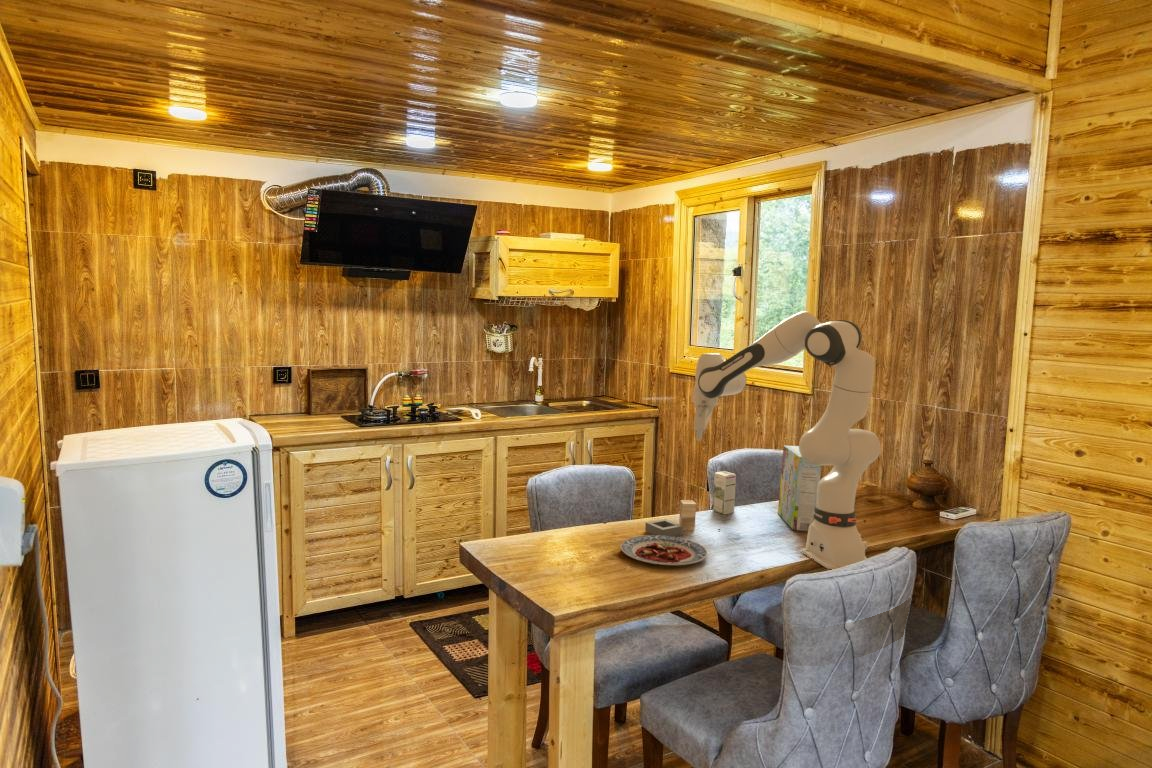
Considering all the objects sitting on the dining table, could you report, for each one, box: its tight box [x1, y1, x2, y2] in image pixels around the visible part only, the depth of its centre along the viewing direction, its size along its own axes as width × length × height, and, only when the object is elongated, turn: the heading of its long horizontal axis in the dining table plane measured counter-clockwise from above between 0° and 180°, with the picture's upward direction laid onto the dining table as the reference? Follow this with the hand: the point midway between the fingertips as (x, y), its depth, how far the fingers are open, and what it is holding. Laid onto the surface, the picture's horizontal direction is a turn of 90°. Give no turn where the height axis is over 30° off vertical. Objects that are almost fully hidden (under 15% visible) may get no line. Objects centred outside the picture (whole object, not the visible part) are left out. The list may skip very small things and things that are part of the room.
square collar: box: [644, 518, 684, 537], centre depth 243 cm, size 9×9×3 cm
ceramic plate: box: [620, 534, 709, 566], centre depth 222 cm, size 26×26×3 cm
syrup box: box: [712, 470, 737, 515], centre depth 270 cm, size 6×6×14 cm
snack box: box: [777, 444, 823, 532], centre depth 259 cm, size 22×9×26 cm, turn 179°
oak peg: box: [678, 499, 697, 531], centre depth 249 cm, size 4×4×9 cm
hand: (700, 437), depth 259 cm, fingers open, 8 cm apart
